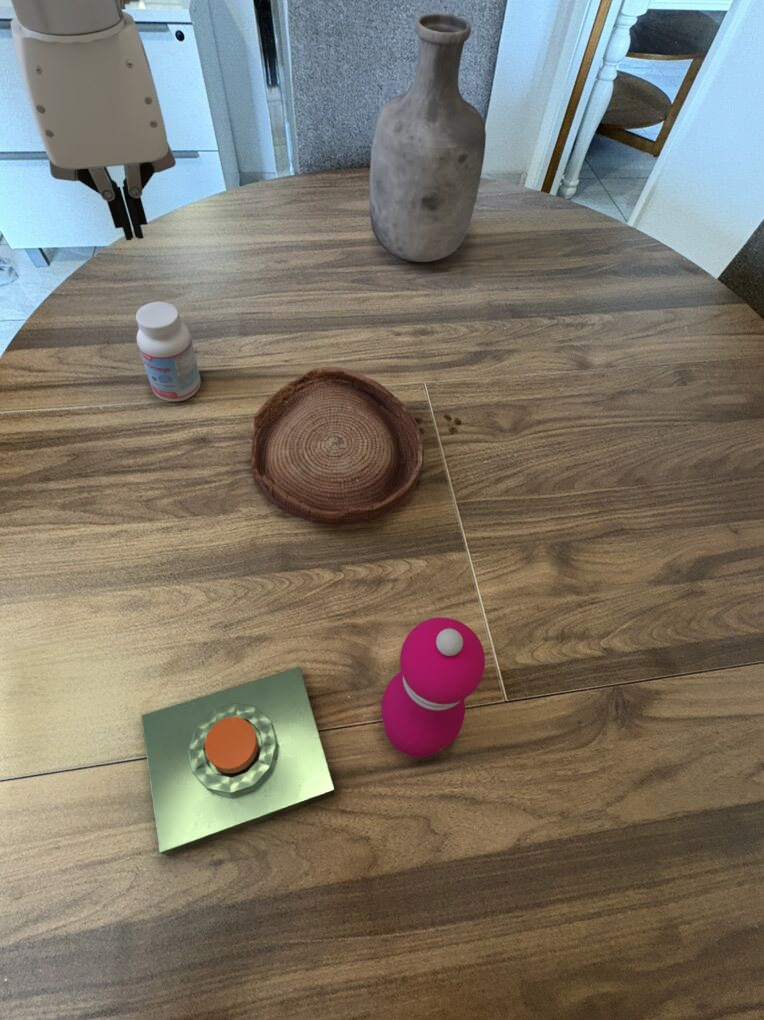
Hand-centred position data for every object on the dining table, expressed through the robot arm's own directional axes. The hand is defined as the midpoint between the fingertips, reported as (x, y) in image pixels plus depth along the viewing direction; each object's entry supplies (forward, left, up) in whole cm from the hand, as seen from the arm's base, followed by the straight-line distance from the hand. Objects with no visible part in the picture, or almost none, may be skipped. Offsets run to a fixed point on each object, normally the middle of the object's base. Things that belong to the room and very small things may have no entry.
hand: (133, 231), depth 61 cm
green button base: (-2, -47, -21) cm, 51 cm away
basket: (+16, -17, -21) cm, 32 cm away
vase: (+41, +21, -22) cm, 51 cm away
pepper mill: (+14, -49, -21) cm, 55 cm away
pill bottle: (0, 0, -22) cm, 22 cm away
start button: (-2, -47, -17) cm, 50 cm away
